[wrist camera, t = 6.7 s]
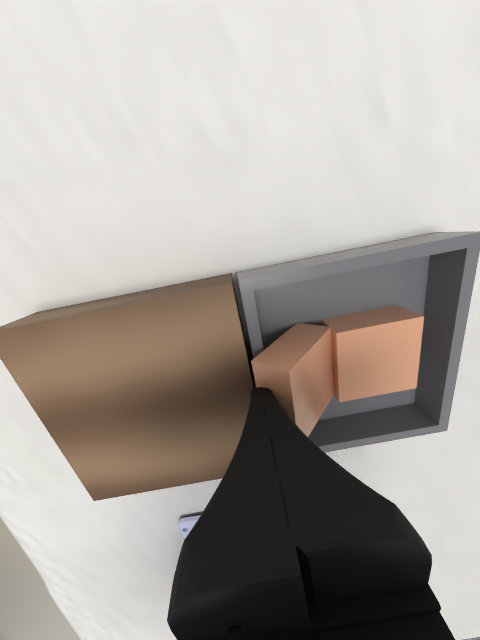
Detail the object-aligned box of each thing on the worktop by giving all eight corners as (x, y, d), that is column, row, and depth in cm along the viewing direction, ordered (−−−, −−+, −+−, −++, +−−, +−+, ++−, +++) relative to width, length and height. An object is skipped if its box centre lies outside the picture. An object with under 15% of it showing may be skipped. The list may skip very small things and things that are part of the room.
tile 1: (339, 402, 13) (325, 381, 15) (416, 388, 13) (393, 368, 15) (336, 333, 12) (321, 319, 13) (424, 316, 11) (396, 305, 13)
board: (263, 431, 17) (270, 469, 14) (115, 457, 17) (93, 500, 14) (231, 273, 13) (231, 283, 10) (36, 312, 13) (-17, 333, 10)
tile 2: (304, 384, 15) (334, 393, 14) (265, 432, 12) (299, 450, 11) (297, 322, 13) (331, 326, 12) (250, 360, 10) (288, 371, 9)
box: (416, 403, 17) (446, 430, 14) (267, 430, 17) (273, 461, 15) (435, 232, 12) (483, 231, 10) (236, 272, 13) (238, 280, 10)
